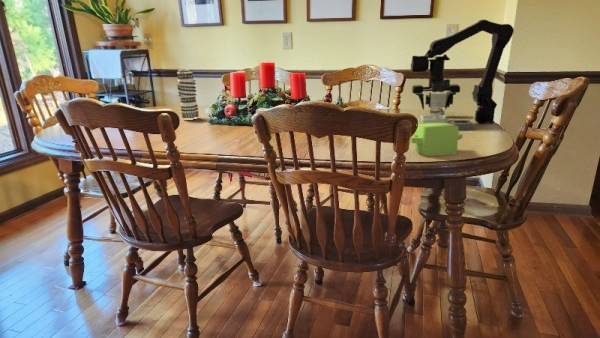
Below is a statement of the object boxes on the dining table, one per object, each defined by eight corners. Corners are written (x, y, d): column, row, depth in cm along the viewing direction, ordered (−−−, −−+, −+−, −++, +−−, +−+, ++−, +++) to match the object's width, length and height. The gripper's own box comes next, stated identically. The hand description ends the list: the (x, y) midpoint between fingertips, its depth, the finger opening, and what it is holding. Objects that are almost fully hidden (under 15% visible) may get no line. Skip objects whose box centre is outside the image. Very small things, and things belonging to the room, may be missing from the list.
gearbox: (455, 147, 141) (457, 120, 139) (470, 153, 132) (472, 124, 129) (404, 150, 139) (405, 122, 137) (416, 157, 130) (417, 127, 127)
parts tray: (444, 120, 180) (444, 114, 179) (447, 125, 172) (448, 119, 171) (420, 121, 182) (420, 115, 181) (422, 125, 173) (422, 119, 172)
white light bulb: (437, 120, 178) (438, 102, 175) (439, 122, 174) (440, 103, 172) (428, 120, 178) (429, 102, 176) (429, 122, 175) (430, 104, 172)
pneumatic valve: (424, 115, 193) (426, 89, 189) (451, 115, 190) (452, 89, 186) (425, 117, 188) (426, 91, 184) (452, 118, 185) (454, 91, 181)
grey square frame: (468, 125, 169) (468, 119, 168) (472, 130, 162) (473, 123, 161) (448, 126, 170) (448, 120, 169) (452, 130, 163) (452, 124, 162)
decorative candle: (203, 118, 211) (197, 68, 203) (187, 121, 205) (181, 70, 197) (193, 116, 217) (187, 68, 210) (178, 119, 211) (171, 69, 203)
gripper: (415, 74, 164) (413, 113, 169) (464, 72, 161) (461, 112, 166) (412, 71, 174) (411, 108, 179) (458, 70, 171) (455, 107, 176)
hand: (434, 109), depth 175 cm, fingers open, 9 cm apart
